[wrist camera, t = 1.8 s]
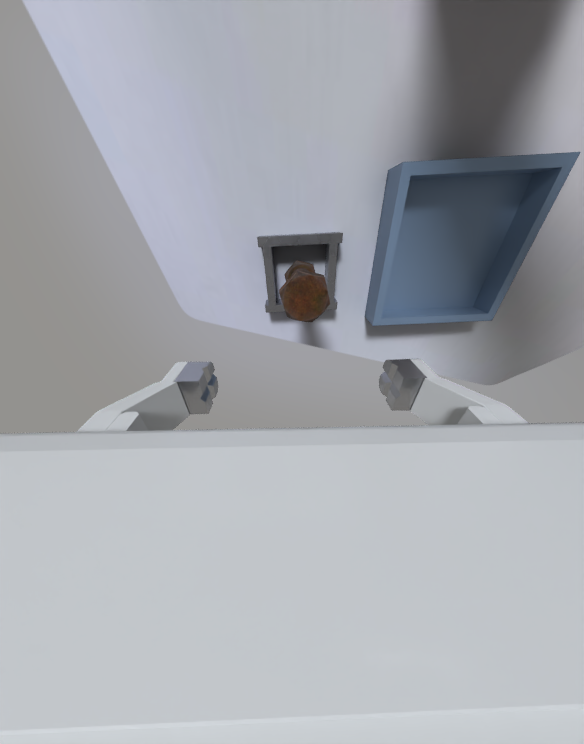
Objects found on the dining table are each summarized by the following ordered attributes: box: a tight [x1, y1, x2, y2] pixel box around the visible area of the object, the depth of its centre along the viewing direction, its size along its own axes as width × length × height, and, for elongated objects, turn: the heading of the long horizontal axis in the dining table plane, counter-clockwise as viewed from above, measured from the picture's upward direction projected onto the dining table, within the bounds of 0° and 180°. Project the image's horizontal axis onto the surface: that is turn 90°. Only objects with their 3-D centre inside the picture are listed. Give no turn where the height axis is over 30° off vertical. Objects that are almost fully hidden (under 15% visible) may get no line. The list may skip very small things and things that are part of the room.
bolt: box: [279, 260, 330, 322], centre depth 29 cm, size 6×5×15 cm
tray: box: [365, 152, 580, 326], centre depth 32 cm, size 20×20×4 cm
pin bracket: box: [257, 232, 343, 312], centre depth 34 cm, size 12×11×3 cm
